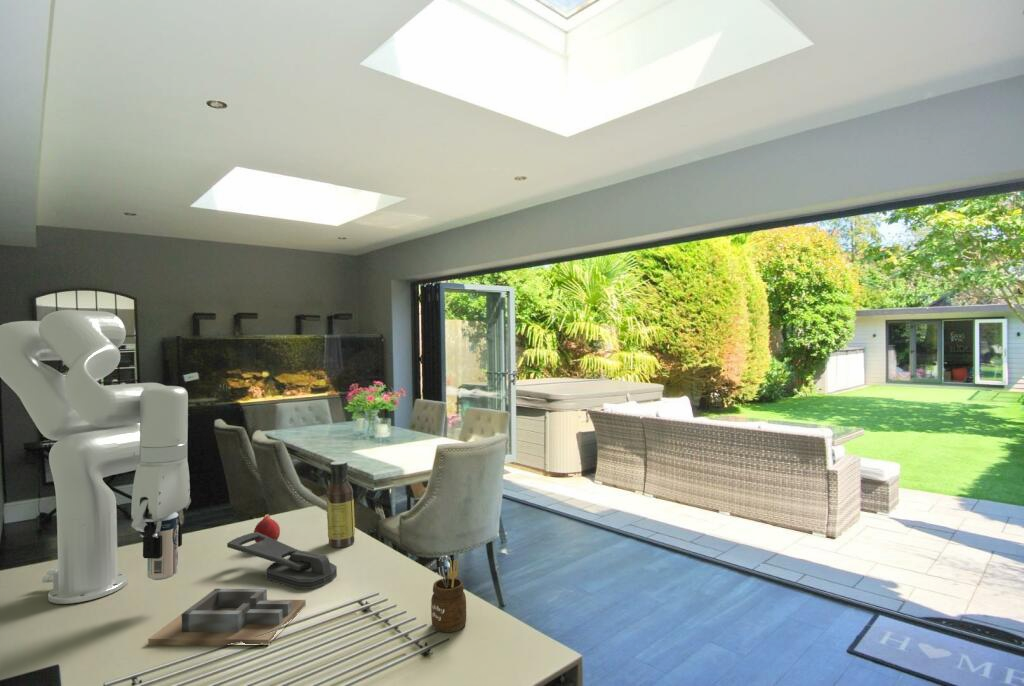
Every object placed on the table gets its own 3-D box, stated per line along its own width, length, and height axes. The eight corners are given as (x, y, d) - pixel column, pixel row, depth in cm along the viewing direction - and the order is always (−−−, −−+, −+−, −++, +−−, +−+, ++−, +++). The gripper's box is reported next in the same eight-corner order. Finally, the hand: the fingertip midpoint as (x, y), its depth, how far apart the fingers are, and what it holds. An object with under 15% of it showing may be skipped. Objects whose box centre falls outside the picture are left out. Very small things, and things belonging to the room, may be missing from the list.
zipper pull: (256, 529, 128) (342, 543, 117) (257, 559, 128) (343, 575, 117) (221, 542, 119) (311, 559, 109) (222, 574, 119) (312, 593, 109)
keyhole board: (148, 645, 91) (147, 620, 91) (201, 604, 105) (200, 583, 105) (268, 645, 90) (268, 620, 90) (305, 605, 104) (305, 583, 104)
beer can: (182, 574, 104) (183, 510, 104) (155, 583, 100) (156, 517, 100) (169, 568, 107) (170, 505, 107) (142, 577, 103) (142, 512, 103)
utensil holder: (458, 613, 99) (457, 545, 99) (472, 628, 94) (471, 556, 94) (426, 621, 97) (425, 551, 97) (439, 638, 91) (437, 563, 91)
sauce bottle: (338, 538, 140) (336, 458, 140) (360, 540, 138) (358, 459, 138) (322, 547, 134) (320, 463, 134) (344, 549, 132) (342, 465, 132)
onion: (273, 552, 131) (273, 518, 131) (249, 553, 131) (248, 519, 131) (284, 544, 137) (283, 511, 137) (260, 544, 137) (260, 511, 137)
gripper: (174, 444, 112) (173, 534, 112) (108, 463, 95) (107, 570, 95) (210, 445, 111) (209, 536, 112) (151, 464, 95) (150, 572, 95)
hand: (162, 550), depth 103 cm, fingers closed on beer can, 4 cm apart
